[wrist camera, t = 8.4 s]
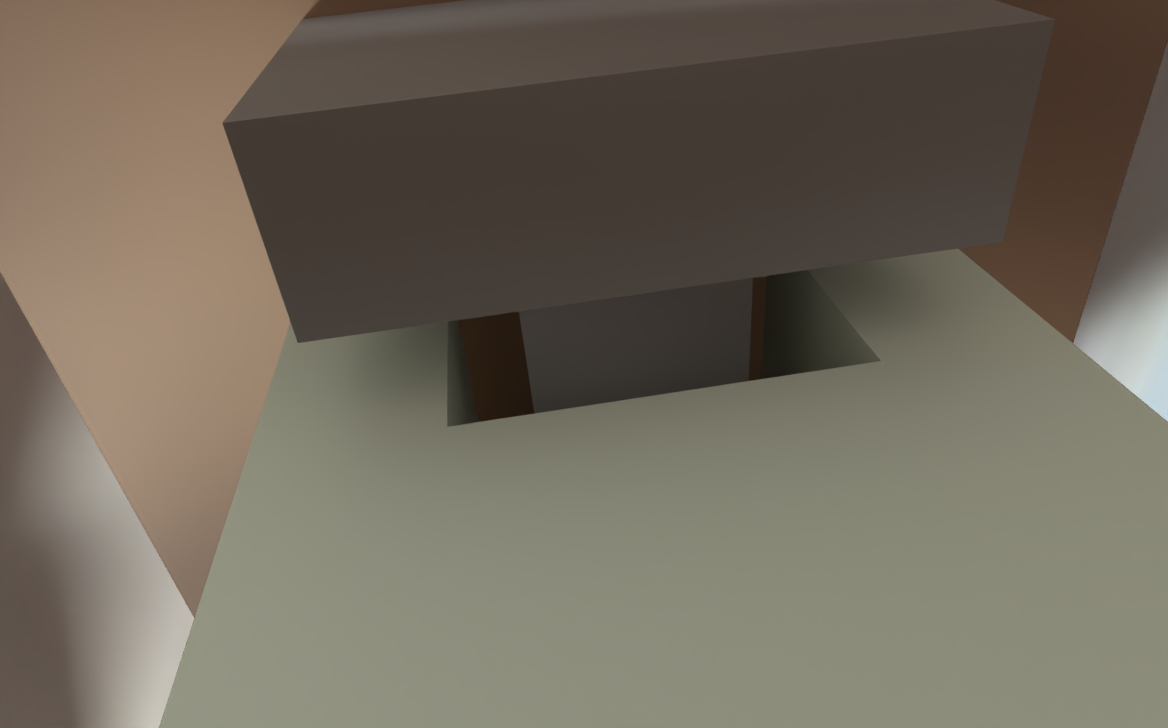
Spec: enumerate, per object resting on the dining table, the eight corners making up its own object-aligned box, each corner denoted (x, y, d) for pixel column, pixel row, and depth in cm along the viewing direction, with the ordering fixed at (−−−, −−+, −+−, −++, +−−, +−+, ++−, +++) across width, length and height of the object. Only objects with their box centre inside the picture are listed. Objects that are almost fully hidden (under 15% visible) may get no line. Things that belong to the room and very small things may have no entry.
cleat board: (902, 710, 18) (1023, 945, 14) (353, 810, 17) (326, 1088, 13) (1114, -152, 9) (1622, -138, 5) (-54, -24, 8) (-518, 114, 4)
